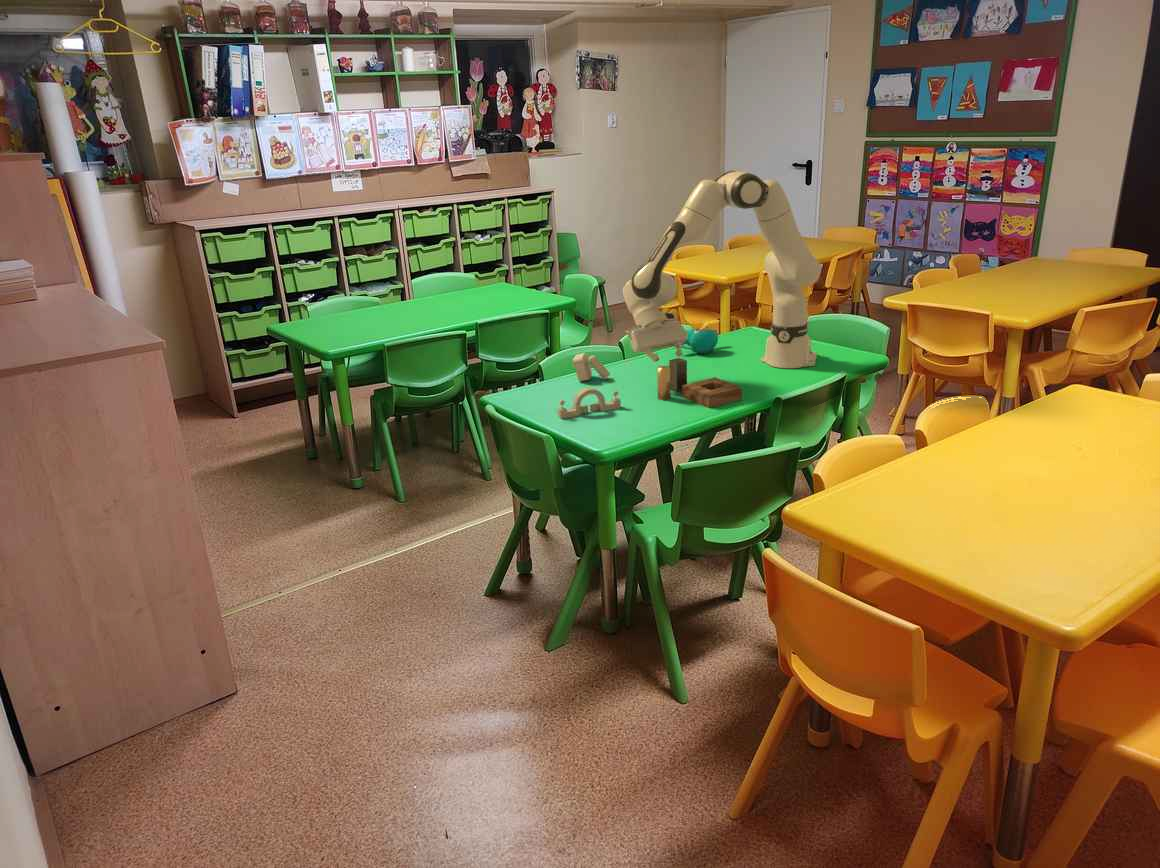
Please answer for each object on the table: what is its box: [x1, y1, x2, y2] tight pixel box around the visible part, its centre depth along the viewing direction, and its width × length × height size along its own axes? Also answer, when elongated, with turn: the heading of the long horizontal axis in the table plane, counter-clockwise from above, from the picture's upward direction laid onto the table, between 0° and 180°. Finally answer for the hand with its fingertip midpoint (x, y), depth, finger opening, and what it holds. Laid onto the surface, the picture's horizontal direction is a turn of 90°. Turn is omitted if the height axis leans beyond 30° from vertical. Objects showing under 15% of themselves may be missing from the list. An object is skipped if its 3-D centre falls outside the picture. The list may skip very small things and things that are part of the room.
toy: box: [681, 326, 720, 354], centre depth 308 cm, size 22×10×30 cm
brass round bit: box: [656, 365, 671, 401], centre depth 252 cm, size 4×4×10 cm
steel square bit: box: [668, 357, 688, 394], centre depth 259 cm, size 4×4×10 cm
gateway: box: [557, 387, 622, 420], centre depth 244 cm, size 20×2×8 cm, turn 112°
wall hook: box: [572, 352, 611, 383], centre depth 275 cm, size 8×10×10 cm
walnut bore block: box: [681, 376, 743, 409], centre depth 251 cm, size 13×13×4 cm
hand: (668, 358), depth 262 cm, fingers open, 8 cm apart
